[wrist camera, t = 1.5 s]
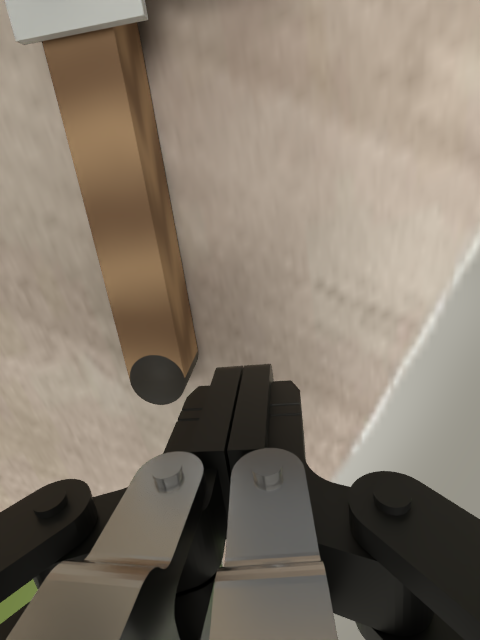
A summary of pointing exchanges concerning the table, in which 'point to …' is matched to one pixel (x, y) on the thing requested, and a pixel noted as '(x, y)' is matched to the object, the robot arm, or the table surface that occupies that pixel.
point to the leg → (127, 202)
